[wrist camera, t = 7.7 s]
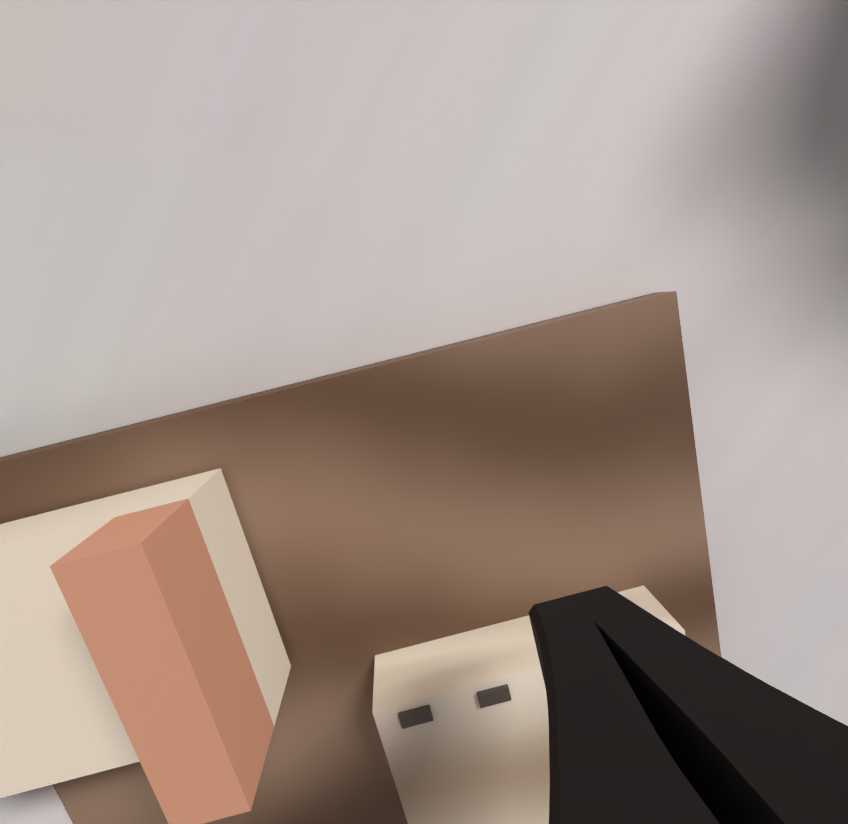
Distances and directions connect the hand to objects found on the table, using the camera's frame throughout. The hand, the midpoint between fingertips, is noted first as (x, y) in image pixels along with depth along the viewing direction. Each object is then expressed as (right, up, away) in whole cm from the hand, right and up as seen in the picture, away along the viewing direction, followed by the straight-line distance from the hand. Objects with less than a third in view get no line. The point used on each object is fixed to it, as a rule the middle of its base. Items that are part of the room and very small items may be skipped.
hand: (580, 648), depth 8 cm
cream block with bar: (-11, -1, +5) cm, 12 cm away
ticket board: (-4, -3, +7) cm, 9 cm away
